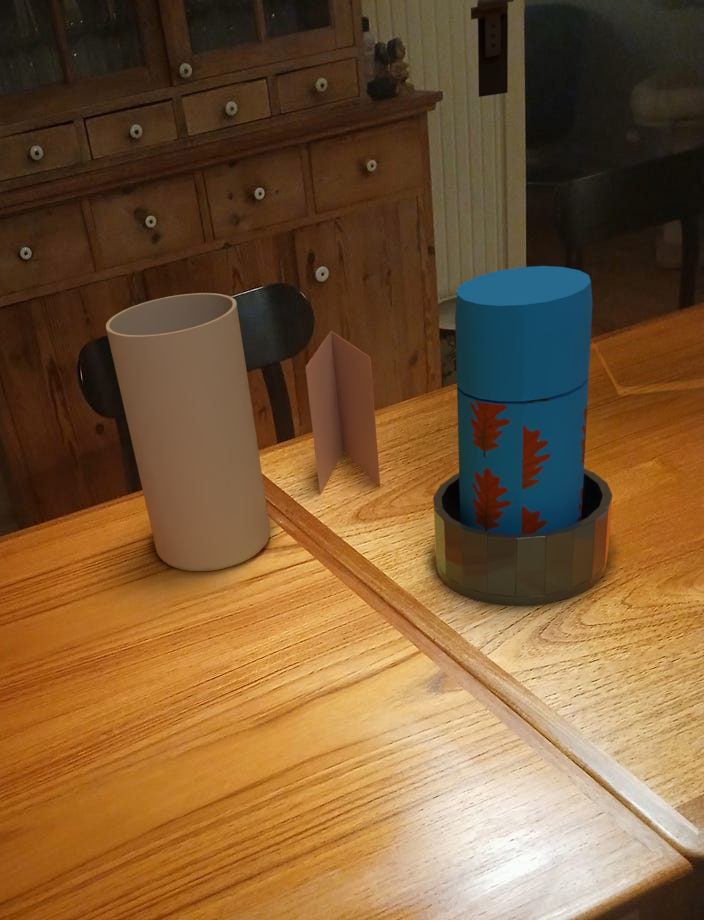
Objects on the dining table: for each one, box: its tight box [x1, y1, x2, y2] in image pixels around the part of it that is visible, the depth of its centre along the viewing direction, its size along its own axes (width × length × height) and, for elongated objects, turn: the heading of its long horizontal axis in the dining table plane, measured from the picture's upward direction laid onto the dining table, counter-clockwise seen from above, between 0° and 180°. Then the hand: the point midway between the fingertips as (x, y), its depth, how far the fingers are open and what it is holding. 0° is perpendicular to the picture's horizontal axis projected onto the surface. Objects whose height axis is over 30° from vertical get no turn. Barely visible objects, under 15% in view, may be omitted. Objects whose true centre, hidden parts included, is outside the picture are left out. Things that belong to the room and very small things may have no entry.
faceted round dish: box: [432, 468, 613, 607], centre depth 92 cm, size 16×16×7 cm
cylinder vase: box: [105, 292, 271, 572], centre depth 100 cm, size 12×12×25 cm
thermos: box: [454, 265, 593, 534], centre depth 87 cm, size 11×11×25 cm
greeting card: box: [305, 330, 381, 495], centre depth 112 cm, size 11×7×15 cm, turn 161°
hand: (493, 85), depth 101 cm, fingers open, 13 cm apart
